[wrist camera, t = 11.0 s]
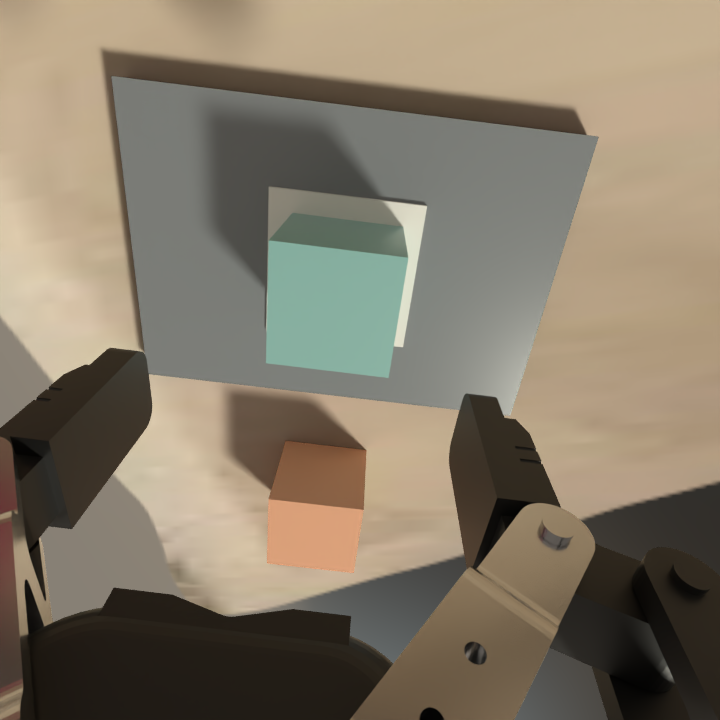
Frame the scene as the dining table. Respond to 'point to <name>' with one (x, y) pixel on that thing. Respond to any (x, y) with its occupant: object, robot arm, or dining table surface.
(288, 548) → the orange cube
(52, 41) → the dining table surface
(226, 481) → the dining table surface
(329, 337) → the teal cube
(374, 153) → the plate
